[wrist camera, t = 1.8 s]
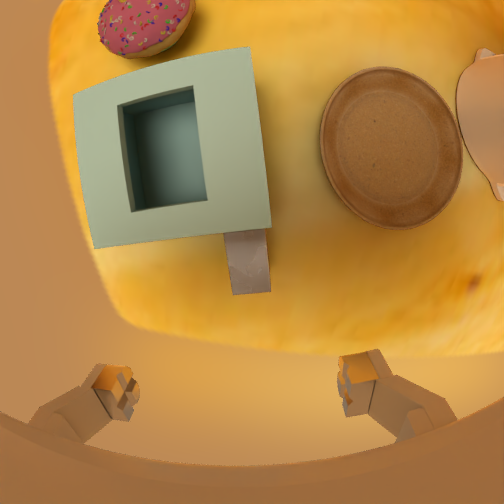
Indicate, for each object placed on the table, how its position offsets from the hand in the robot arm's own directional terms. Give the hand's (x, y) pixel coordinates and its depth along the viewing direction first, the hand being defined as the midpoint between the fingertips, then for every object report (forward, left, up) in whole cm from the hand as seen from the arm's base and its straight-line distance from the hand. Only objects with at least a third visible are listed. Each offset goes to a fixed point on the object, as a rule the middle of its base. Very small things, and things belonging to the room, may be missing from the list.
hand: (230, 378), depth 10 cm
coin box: (+4, -9, -17) cm, 20 cm away
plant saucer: (-14, -8, -18) cm, 24 cm away
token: (0, 0, -17) cm, 17 cm away
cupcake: (+6, -22, -17) cm, 29 cm away
